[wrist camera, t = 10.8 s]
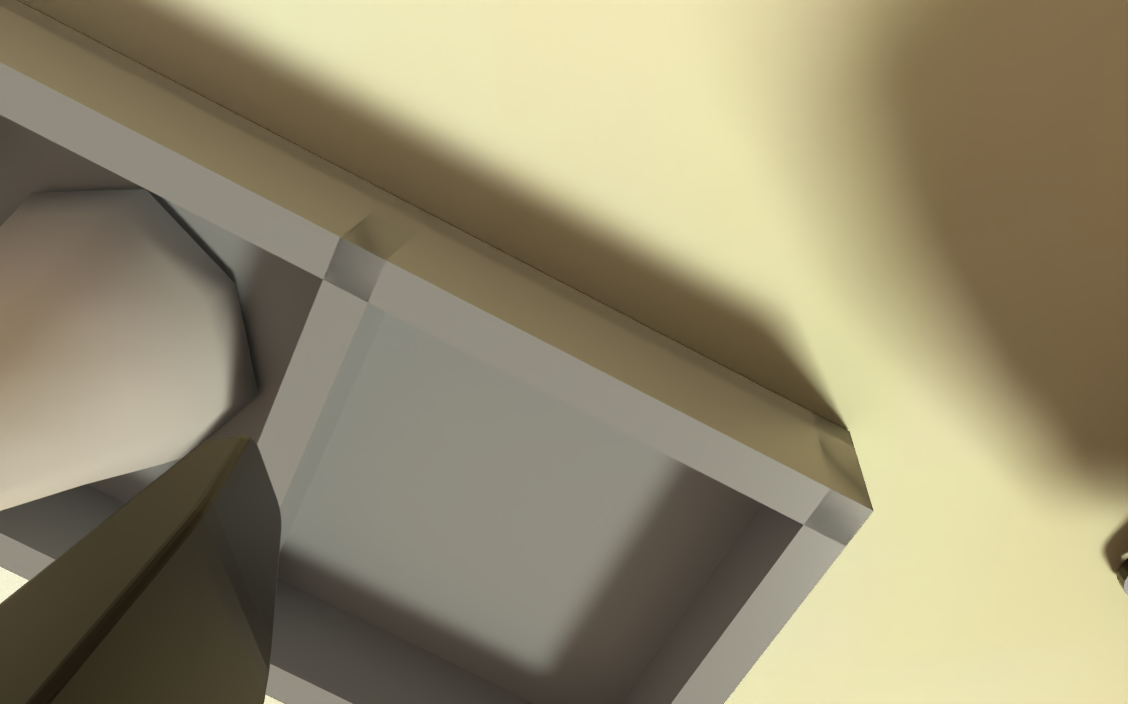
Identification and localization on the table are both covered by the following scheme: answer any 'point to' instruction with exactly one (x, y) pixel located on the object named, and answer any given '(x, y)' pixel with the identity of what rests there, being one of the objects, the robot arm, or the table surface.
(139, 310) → the flask
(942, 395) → the table surface
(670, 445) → the grey compartment tray
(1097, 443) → the table surface
